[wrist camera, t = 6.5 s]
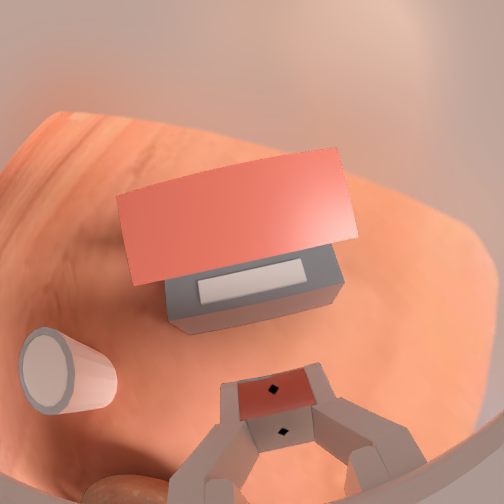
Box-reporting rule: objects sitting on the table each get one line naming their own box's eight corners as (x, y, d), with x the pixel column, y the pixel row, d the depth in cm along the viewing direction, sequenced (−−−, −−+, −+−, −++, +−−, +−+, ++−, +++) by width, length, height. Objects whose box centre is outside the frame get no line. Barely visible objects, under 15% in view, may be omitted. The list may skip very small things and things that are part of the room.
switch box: (331, 303, 22) (355, 264, 15) (189, 335, 22) (150, 309, 15) (298, 206, 27) (303, 147, 20) (178, 233, 27) (148, 181, 20)
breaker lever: (288, 239, 20) (358, 237, 7) (200, 258, 20) (133, 286, 7) (280, 203, 20) (336, 147, 7) (193, 222, 20) (116, 196, 7)
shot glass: (82, 423, 18) (31, 424, 12) (60, 359, 21) (11, 344, 15) (135, 401, 20) (87, 400, 13) (107, 332, 23) (60, 311, 16)
